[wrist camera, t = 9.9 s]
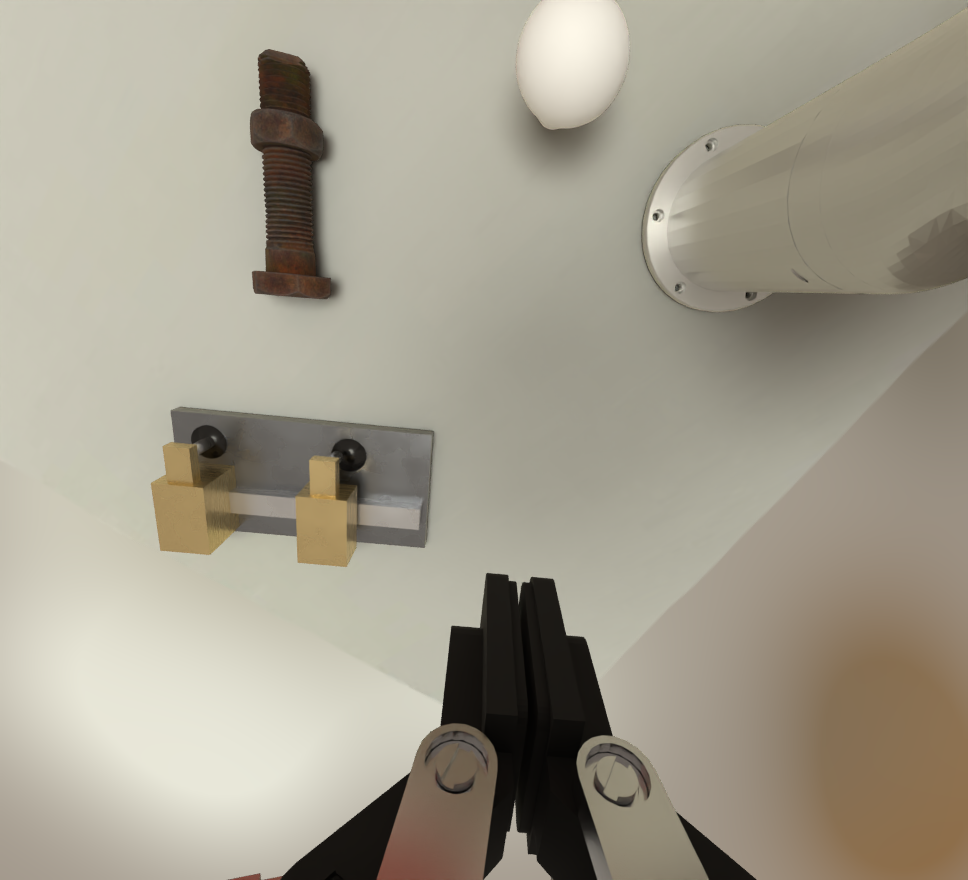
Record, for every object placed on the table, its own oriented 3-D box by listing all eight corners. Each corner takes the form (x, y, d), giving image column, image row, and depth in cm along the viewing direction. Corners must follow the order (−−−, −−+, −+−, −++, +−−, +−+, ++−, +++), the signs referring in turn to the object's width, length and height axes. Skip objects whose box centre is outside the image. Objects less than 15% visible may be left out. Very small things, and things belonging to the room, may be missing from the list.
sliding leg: (361, 447, 39) (346, 465, 35) (359, 540, 42) (346, 566, 38) (313, 443, 39) (293, 460, 35) (315, 536, 42) (297, 562, 38)
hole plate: (433, 430, 40) (424, 454, 35) (426, 541, 44) (417, 578, 38) (179, 407, 40) (129, 426, 34) (192, 520, 43) (149, 554, 38)
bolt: (315, 86, 34) (319, 297, 38) (238, 63, 32) (251, 292, 36) (333, 54, 29) (335, 300, 34) (244, 25, 27) (258, 294, 31)
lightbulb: (602, 148, 34) (653, 86, 23) (520, 172, 34) (534, 121, 24) (587, 49, 32) (636, -68, 21) (500, 76, 32) (506, -25, 22)
